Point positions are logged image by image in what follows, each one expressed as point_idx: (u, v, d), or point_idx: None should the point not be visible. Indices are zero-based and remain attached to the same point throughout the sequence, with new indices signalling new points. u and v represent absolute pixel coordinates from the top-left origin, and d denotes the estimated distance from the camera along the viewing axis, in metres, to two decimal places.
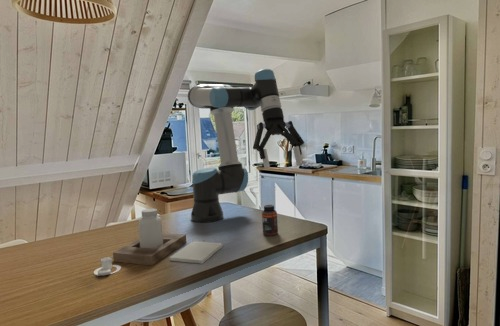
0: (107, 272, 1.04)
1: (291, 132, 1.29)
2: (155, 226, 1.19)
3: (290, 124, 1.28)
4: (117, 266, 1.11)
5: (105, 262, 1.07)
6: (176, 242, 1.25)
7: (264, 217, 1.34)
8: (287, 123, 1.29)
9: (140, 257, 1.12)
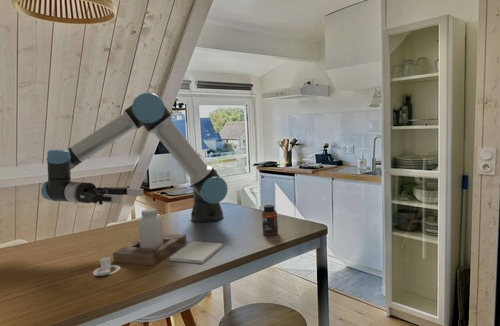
0: (106, 272, 1.04)
1: None
2: (155, 226, 1.19)
3: None
4: (116, 266, 1.11)
5: (104, 262, 1.07)
6: (176, 242, 1.25)
7: (264, 217, 1.34)
8: None
9: (140, 257, 1.12)
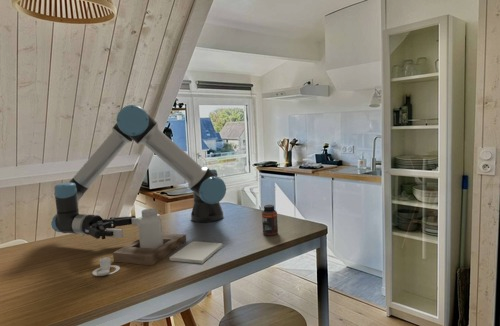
0: (106, 272, 1.04)
1: None
2: (155, 226, 1.19)
3: None
4: (116, 266, 1.11)
5: (104, 262, 1.07)
6: (176, 242, 1.25)
7: (264, 217, 1.34)
8: None
9: (140, 257, 1.12)
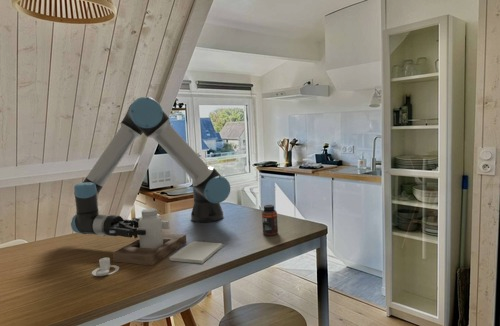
0: (105, 272, 1.04)
1: None
2: (155, 226, 1.19)
3: None
4: (115, 266, 1.11)
5: (103, 262, 1.06)
6: (176, 242, 1.25)
7: (264, 217, 1.34)
8: None
9: (140, 257, 1.12)
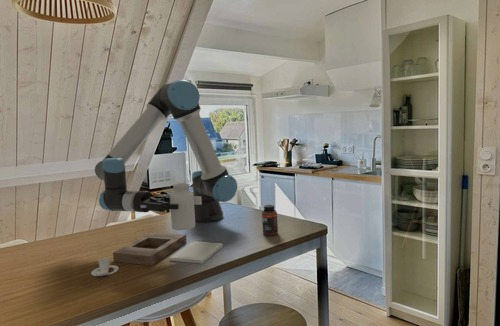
0: (105, 273, 1.04)
1: None
2: (187, 200, 1.14)
3: None
4: (115, 267, 1.11)
5: (103, 263, 1.06)
6: (176, 242, 1.25)
7: (264, 217, 1.34)
8: None
9: (140, 257, 1.12)
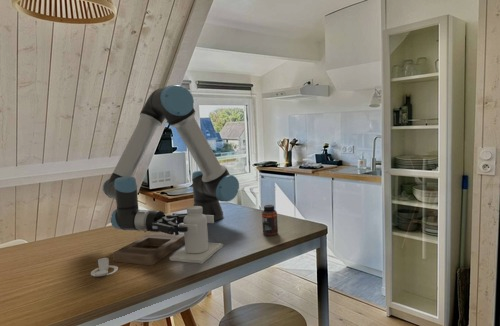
0: (104, 273, 1.04)
1: None
2: (201, 223, 1.16)
3: None
4: (114, 267, 1.10)
5: (102, 263, 1.06)
6: (176, 242, 1.25)
7: (264, 217, 1.34)
8: None
9: (140, 257, 1.12)
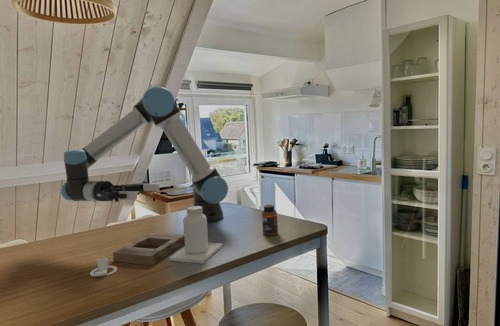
0: (103, 273, 1.03)
1: None
2: (201, 224, 1.15)
3: None
4: (114, 267, 1.10)
5: (101, 263, 1.06)
6: (176, 242, 1.25)
7: (264, 217, 1.34)
8: None
9: (140, 257, 1.12)
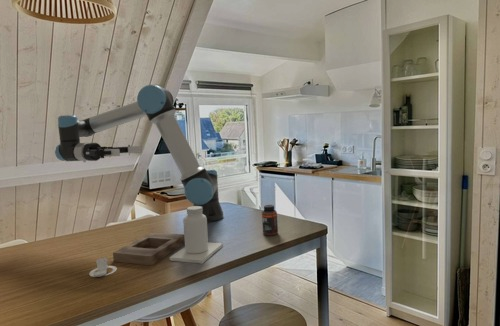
0: (102, 273, 1.03)
1: None
2: (201, 224, 1.15)
3: None
4: (113, 267, 1.10)
5: (101, 263, 1.06)
6: (176, 242, 1.25)
7: (264, 217, 1.34)
8: None
9: (140, 257, 1.12)
